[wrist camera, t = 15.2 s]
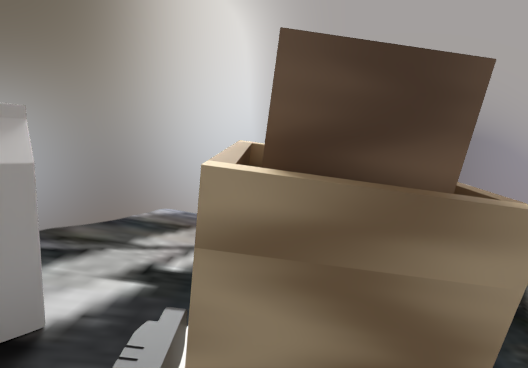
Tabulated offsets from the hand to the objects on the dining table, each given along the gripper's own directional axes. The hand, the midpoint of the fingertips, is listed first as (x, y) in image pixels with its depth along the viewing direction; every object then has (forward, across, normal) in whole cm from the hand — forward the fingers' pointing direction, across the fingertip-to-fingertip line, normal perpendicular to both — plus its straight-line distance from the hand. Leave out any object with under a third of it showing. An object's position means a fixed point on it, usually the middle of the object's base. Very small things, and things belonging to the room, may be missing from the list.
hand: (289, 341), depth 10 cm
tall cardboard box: (-1, 0, +8) cm, 9 cm away
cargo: (-1, 0, -6) cm, 6 cm away
